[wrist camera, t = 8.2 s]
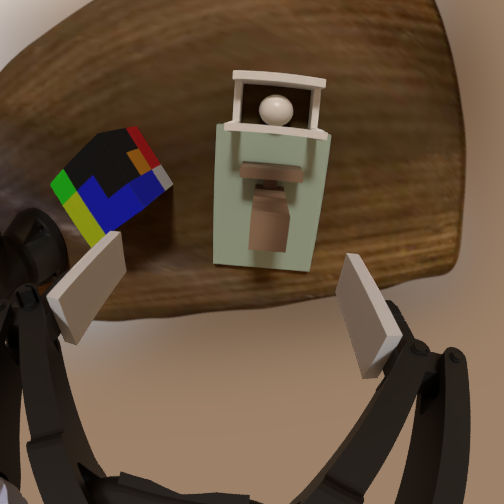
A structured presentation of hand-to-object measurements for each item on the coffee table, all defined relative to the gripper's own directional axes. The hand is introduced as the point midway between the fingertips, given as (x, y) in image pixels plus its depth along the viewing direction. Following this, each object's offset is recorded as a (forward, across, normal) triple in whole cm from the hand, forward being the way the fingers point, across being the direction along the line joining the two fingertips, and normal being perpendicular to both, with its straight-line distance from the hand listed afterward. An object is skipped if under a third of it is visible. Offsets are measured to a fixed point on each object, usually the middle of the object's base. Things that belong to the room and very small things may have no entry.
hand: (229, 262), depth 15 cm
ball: (+20, +3, +9) cm, 22 cm away
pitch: (+22, +3, 0) cm, 23 cm away
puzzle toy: (+23, -17, -1) cm, 29 cm away
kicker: (+21, +3, -1) cm, 21 cm away
